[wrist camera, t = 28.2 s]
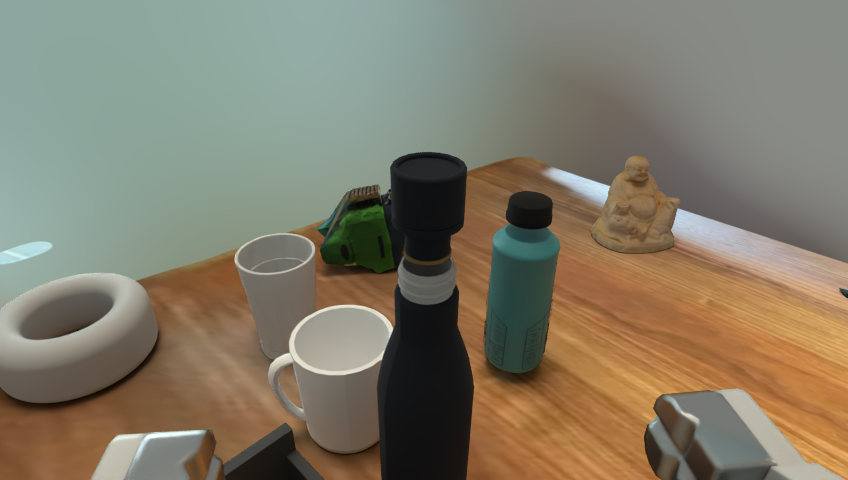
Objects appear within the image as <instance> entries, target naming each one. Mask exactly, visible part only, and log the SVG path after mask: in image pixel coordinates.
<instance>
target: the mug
mask: <svg viewBox="0 0 848 480" xmlns="http://www.w3.org/2000/svg"><path fill="white" fill-rule="evenodd" d="M392 331H393V328H392V325H391V323H390V322H389V321H388V320H387V318H386V317H385V316H384V315H382V314H380V313H379V312H377V311H376V310H373V309H370V308H367V307H364V306H357V305H338V306H333V307H328V308H325V309H322V310H319V311H316V312H314V313H313V314H311V315H309V316H307V317H306V318H304V319H303V320H302V321H301V322H300V323H299V324H298V325H297V326H296V327H295V329H294V330H293V332H292V333H291V337H290V340H289V348H290V353H287V354H284V355H282V356H280V357H278V358H276V359H275V360H274V361H273V362H272V363H271V364H270V368H269V372H268V379H269V382H270V386H271V389H272V390H273V392H274V394H275V396H276V398H277V399H278V401H279V402H280V404H281V405H282V406H283V407H284V408H285V410H286V411H287V412H288V413H290V414H291V415H292V416H293V417H295V418H297V419H300V420H303V421H306V424H307V428H308V432H309V434H310V436H311V438H312V439H313V440H314V441H315V442H316V443H317V444H318V445H319V446H320V447H322V448H324V449H326V450H328V451H331V452H335V453H340V454H345V453H355V452H359V451H363V450H365V449H367V448H369V447H371V446H373V445H374V444H375V443H377V442H378V441H379V421H378V402H377V382H378V376H379V370H380V366H381V362H382V358H383V354H384V351H385V348H386V346H387V343H388V341H389V338H390V336H391V333H392ZM291 364H293V368H294V372H295V377H296V381H297V385H298V389H299V394H300V398H301V402H302V407H303V409H301V408H299V407H297V406H295V405H294V404H293V403H292V402H291V401H290V400H289V399H288V397H287V396H286V395H285V393H284V392H283V390H282V388H281V386H280V382H279V378H278V377H279V373H280V371H281V370H282V369H283V368H284V367H286V366H288V365H291Z"/></svg>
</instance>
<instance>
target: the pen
mask: <svg viewBox="0 0 848 480" xmlns="http://www.w3.org/2000/svg"><path fill="white" fill-rule="evenodd" d="M839 289H840V291H841V292H842V293H843V294H844V295H845V296H846V297H847V298H848V290H845V289H841V288H839Z"/></svg>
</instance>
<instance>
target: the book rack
mask: <svg viewBox="0 0 848 480" xmlns="http://www.w3.org/2000/svg"><path fill="white" fill-rule="evenodd" d="M223 466H224V472H225V480H324V479H323V478H322V477H321V476H320V475H319V473H318V472H317V471H316V470H315V469H314V468H313V467H312V466H311V465H310V464H309V463H308V462H307V461H306V460H305V458H304V457H303V456H302V455H301V454H300V453H299V452H298V451H297V450H296V448H295V442H294V437H293V431H292V429H291V428H290V427H289V425H288V424H287V423H284V424H283V425H281V426H280V427H278V428H277V429H275V430H274V431H272V432H271V433H269V434H268V435H267V436H265V437H264V438H262V439H261V440H259V441H258V442H256V443H255V444H253V445H252V446H250V447H249V448H247V449H246V450H244V451H243V452H241V453H240V454H238V455H237V456H235V457H234V458H232V459H231V460H229V461H228V462H226V463H225V464H223Z"/></svg>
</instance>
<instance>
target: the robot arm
mask: <svg viewBox="0 0 848 480" xmlns="http://www.w3.org/2000/svg"><path fill="white" fill-rule="evenodd" d="M653 409H654V411H655V412H656V414H657V417H656V418H655V419H654V420H652V421H651V422H650V423H649V424H648V425H647V428H646V432H645V435H644V442H645V452H646V455H647V458H648V461H649V464H650V465H651V467H652V469H653V471H654V473H655V475H656V476H657V477H658V478H660V479H661V480H845V479H843V478H841V477H840V476H838V475H836V474H834V473H833V472H831V471H829V470H828V469H826V468H824V467H822V466H821V465H819V464H817V463H807V462H806V461H805V459H804V458H803V457H802V456H801V455H800V453H799V452H798V451H797V450H796V449H795V448H794V446H793V445H792V444H791V443H790V442H789V441H788V439H787V438H786V437H785V436H784V435H783V434H782V432H781V431H780V430H779V429H778V428H777V427H776V425H775V424H774V423H773V422H772V421H771V420H770V418H769V417H768V416H767V415H766V414H765V413H764V411H763V410H762V409H761V408H760V407H759V406H758V404H757V403H756V402H755V401H754V400H753V399H752V397H751V396H750V395H749V394H748V393H747V392H745V391H744V390H742V389H740V388H738V389H724V390H713V391H710V390H705V391H694V392H683V393H672V394H662V395H661V396H660V397H658V398H657V399H656V402H655V405H654V407H653ZM215 446H216V440H215V437H214V434H213V431H212V430H196V431H176V432H156V433H141V434H125V435H117V436H116V437H115V438H114V439H113V440H112V441H111V442H110V443H109V444H108V446H107V448H106V450H105V452H104V454H103V456H102V458H101V460H100V462H99V464H98V466H97V468H96V470H95V472H94V474H93V476H92V478H91V480H225V472H224V466H223V463H222V459H220V458H219V457H217V456H216V455H214V454H213V453H214V450H215Z"/></svg>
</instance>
